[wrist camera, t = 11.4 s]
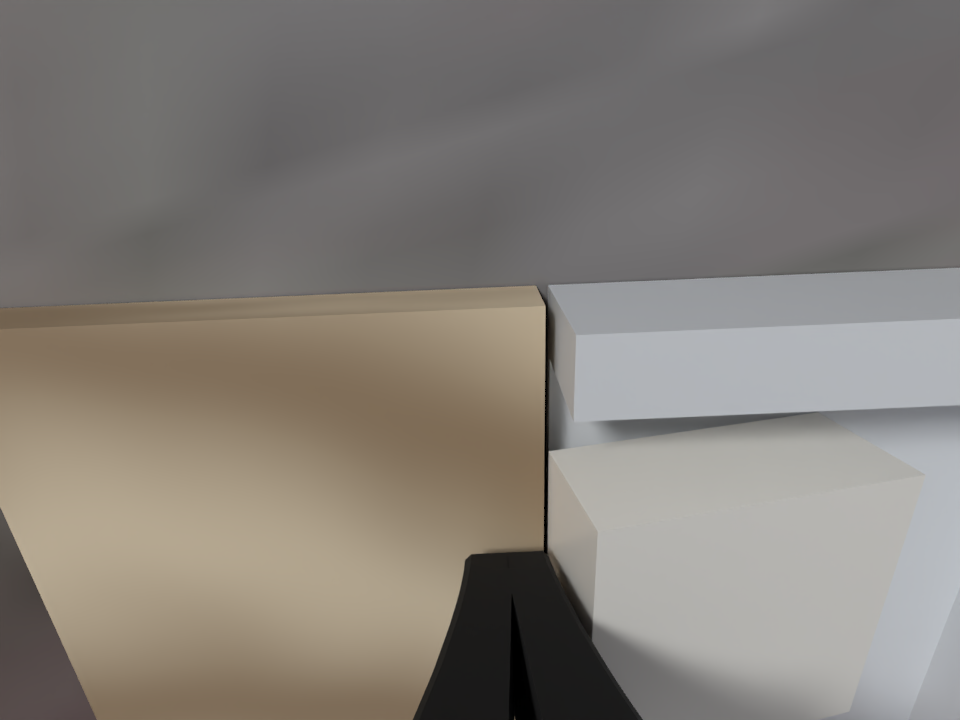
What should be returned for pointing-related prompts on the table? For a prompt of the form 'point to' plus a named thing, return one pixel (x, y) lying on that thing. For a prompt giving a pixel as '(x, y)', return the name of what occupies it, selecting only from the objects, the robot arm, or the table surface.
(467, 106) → the table surface
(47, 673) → the table surface
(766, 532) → the cream tile
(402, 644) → the oak board
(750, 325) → the grey tray
